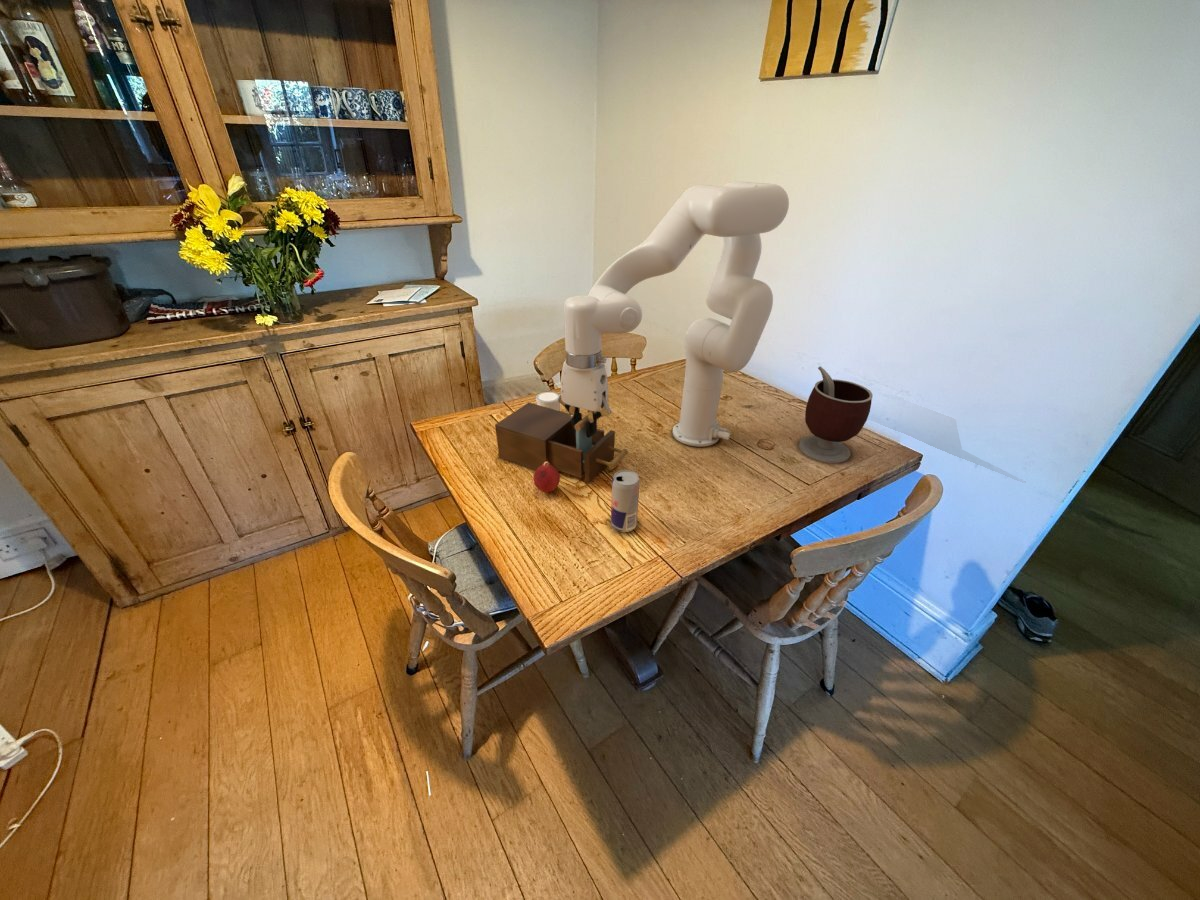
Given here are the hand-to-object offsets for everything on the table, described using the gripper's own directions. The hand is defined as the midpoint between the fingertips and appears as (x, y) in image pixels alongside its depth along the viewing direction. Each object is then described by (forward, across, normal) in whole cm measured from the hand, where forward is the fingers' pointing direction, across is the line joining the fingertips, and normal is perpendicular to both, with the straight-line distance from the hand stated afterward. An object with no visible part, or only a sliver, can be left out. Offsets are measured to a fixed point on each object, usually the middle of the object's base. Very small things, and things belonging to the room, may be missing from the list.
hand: (584, 432), depth 107 cm
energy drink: (+10, -17, +14) cm, 24 cm away
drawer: (+9, -1, 0) cm, 9 cm away
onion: (+10, +3, +12) cm, 16 cm away
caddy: (+8, 0, 0) cm, 8 cm away
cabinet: (+10, +14, 0) cm, 17 cm away
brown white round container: (+10, +22, -16) cm, 29 cm away
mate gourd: (+10, -49, -38) cm, 63 cm away
